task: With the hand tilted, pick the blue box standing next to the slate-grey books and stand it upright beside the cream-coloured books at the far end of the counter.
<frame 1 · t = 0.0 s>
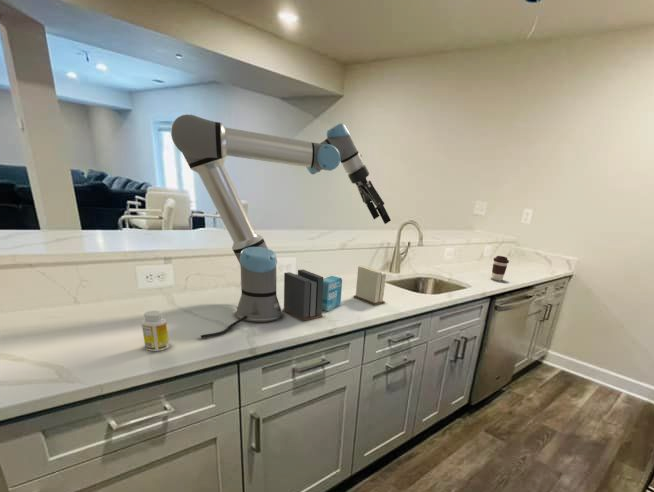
hand: (382, 219, 154), 36 cm above the countertop, tool tilted 35°, fingers open, 13 cm apart
supplement bottle: (157, 348, 106), on the countertop
coffee cup: (496, 279, 254), on the countertop
cream books: (368, 300, 173), on the countertop
grey books: (302, 313, 146), on the countertop
blue box: (328, 307, 157), on the countertop
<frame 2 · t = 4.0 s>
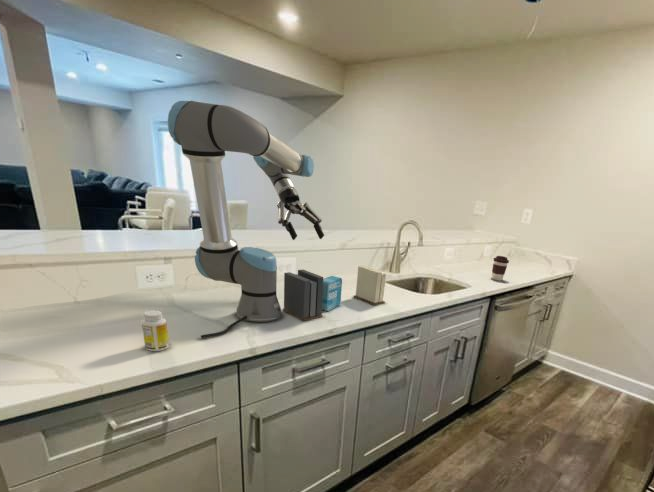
hand: (309, 237, 155), 25 cm above the countertop, tool tilted 45°, fingers open, 13 cm apart
nothing on the countertop moved.
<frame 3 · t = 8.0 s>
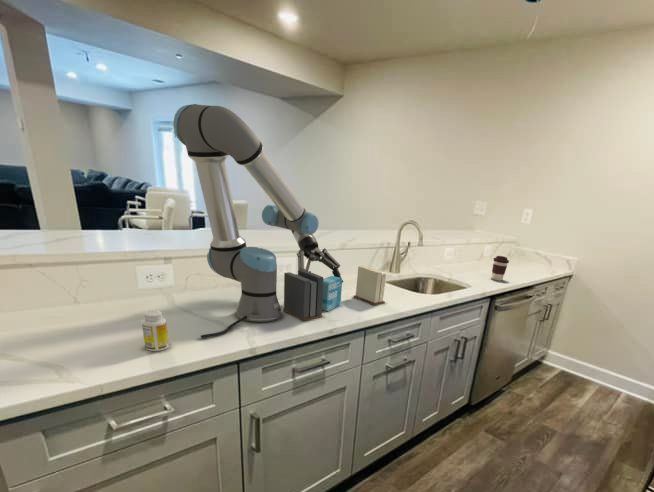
hand: (328, 285, 154), 9 cm above the countertop, tool tilted 45°, fingers open, 13 cm apart
blue box: (328, 307, 157), on the countertop, touching gripper
everything else where it was.
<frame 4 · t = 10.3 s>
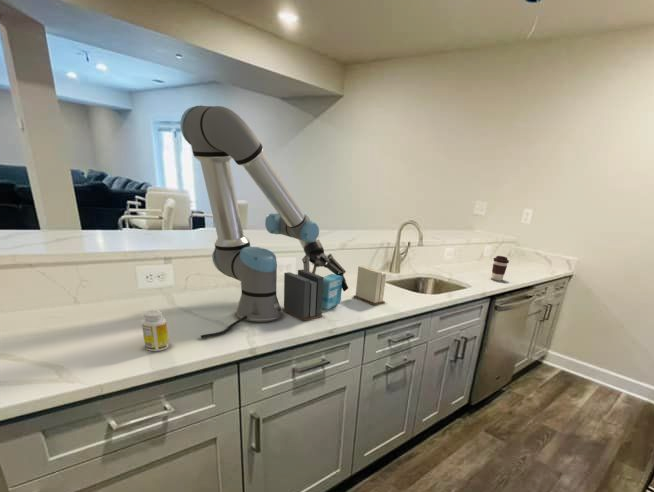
hand: (333, 291, 153), 7 cm above the countertop, tool tilted 45°, fingers closed on blue box, 13 cm apart
blue box: (329, 305, 157), point 1 cm above the countertop, touching gripper
everything else where it was.
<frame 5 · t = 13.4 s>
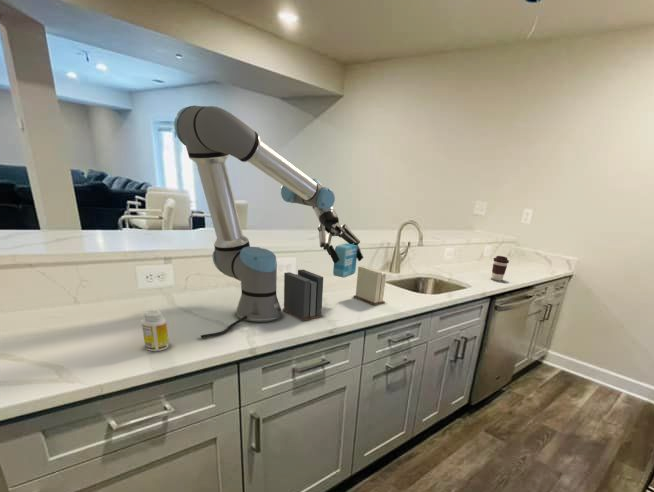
hand: (349, 260, 153), 19 cm above the countertop, tool tilted 45°, fingers closed on blue box, 13 cm apart
blue box: (344, 275, 157), point 13 cm above the countertop, touching gripper
everything else where it was.
when the fingers open (6 cm above the countertop, at t = 17.7 s): blue box stays where it is, on the countertop.
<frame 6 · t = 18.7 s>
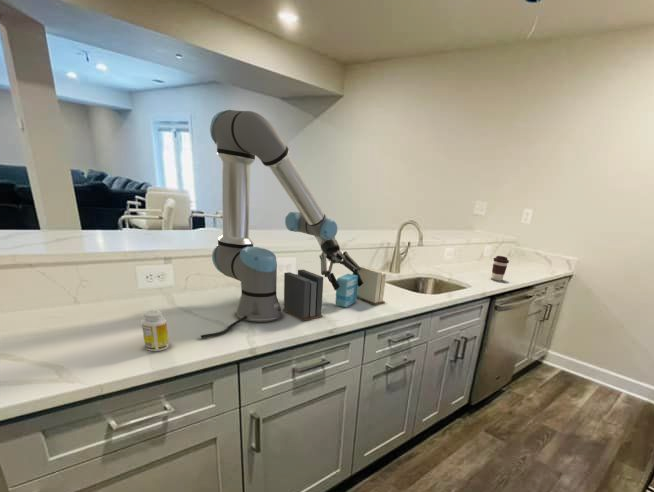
hand: (349, 286, 160), 8 cm above the countertop, tool tilted 45°, fingers open, 13 cm apart
blue box: (346, 304, 164), on the countertop
everything else where it was.
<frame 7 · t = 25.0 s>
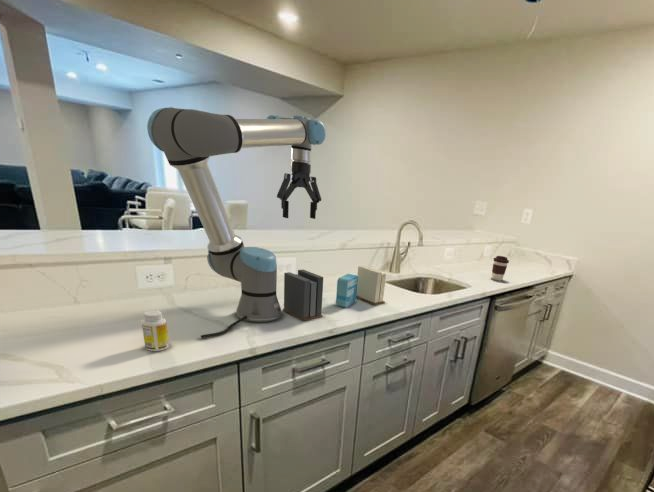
hand: (299, 218, 158), 32 cm above the countertop, tool pointing down, fingers open, 13 cm apart
nothing on the countertop moved.
at the end: blue box inside the target area (0.1 cm from its centre), on the countertop; blue box tilted 0°; the gripper is holding nothing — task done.
